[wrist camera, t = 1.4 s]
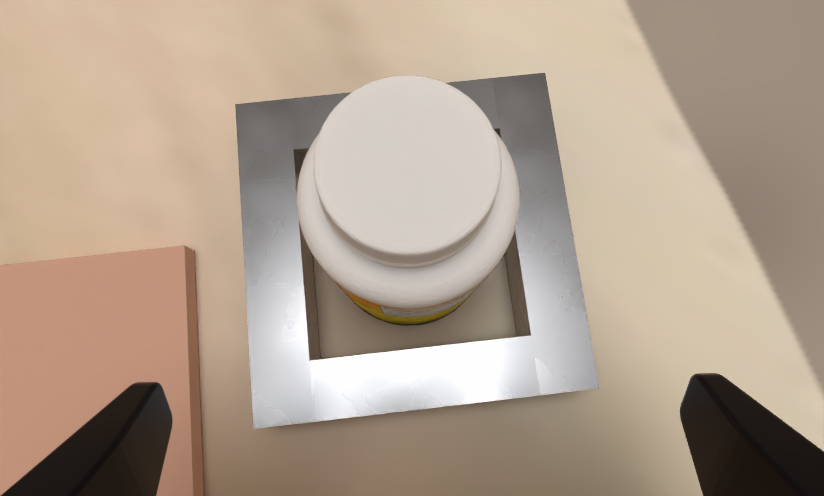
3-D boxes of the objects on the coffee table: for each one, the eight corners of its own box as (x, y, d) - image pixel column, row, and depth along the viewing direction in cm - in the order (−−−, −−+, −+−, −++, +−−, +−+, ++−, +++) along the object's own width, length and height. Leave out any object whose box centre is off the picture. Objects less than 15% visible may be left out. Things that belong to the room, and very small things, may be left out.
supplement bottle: (328, 191, 22) (264, 49, 12) (471, 175, 23) (521, 24, 13) (341, 336, 21) (281, 309, 11) (491, 319, 22) (563, 278, 12)
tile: (207, 599, 20) (197, 611, 19) (-157, 644, 19) (-187, 659, 18) (194, 250, 22) (184, 245, 21) (-131, 286, 22) (-156, 282, 21)
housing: (577, 385, 21) (599, 388, 19) (272, 421, 21) (253, 428, 18) (530, 103, 23) (545, 72, 21) (253, 132, 23) (235, 104, 20)
